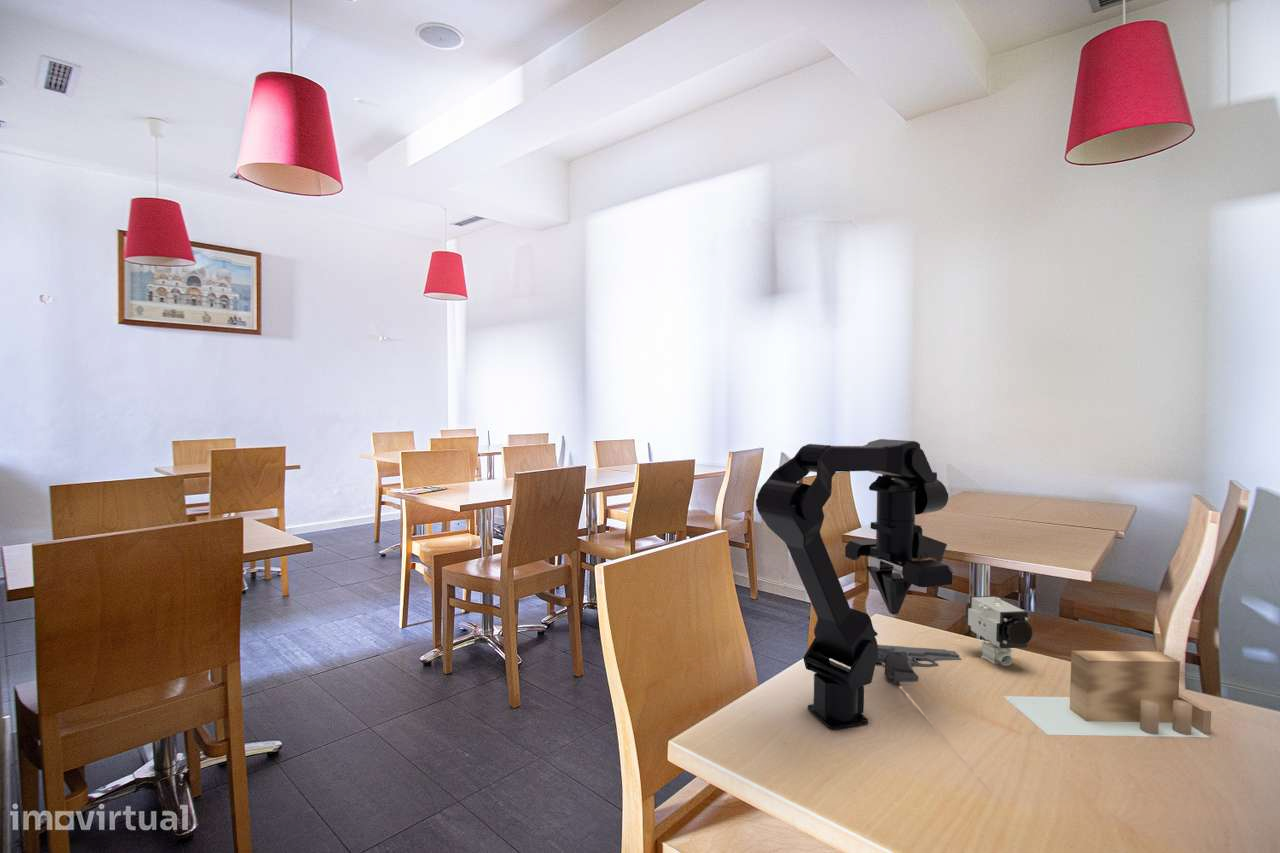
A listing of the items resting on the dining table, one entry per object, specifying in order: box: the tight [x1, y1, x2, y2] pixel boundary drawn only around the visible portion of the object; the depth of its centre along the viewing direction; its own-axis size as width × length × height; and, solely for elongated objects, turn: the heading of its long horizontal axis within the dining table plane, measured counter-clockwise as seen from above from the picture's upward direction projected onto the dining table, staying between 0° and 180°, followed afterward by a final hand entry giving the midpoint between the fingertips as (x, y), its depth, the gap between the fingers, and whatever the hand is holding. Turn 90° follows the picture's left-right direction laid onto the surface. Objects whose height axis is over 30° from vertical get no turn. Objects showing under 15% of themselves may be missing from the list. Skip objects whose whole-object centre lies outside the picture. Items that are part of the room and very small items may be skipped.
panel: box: [1002, 692, 1212, 739], centre depth 90 cm, size 23×11×5 cm, turn 88°
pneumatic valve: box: [965, 595, 1033, 667], centre depth 109 cm, size 6×12×12 cm, turn 6°
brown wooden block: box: [1069, 650, 1181, 723], centre depth 90 cm, size 13×4×9 cm, turn 88°
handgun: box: [876, 644, 962, 686], centre depth 107 cm, size 3×16×12 cm
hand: (893, 613), depth 98 cm, fingers closed
